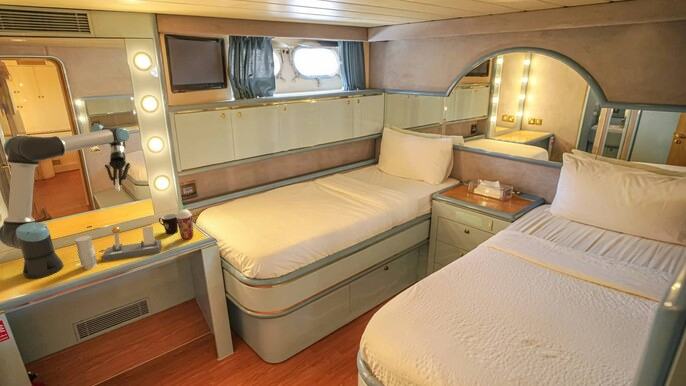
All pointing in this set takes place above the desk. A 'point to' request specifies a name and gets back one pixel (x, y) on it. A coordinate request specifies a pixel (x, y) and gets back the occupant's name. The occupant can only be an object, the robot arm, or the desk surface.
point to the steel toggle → (116, 236)
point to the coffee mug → (170, 223)
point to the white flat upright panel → (148, 235)
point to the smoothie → (185, 224)
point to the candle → (86, 252)
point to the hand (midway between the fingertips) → (117, 190)
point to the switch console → (132, 250)
